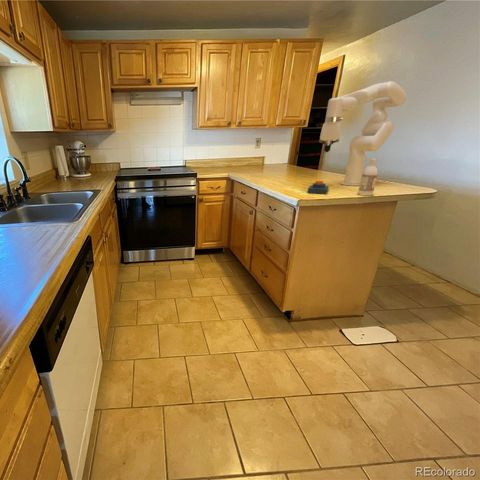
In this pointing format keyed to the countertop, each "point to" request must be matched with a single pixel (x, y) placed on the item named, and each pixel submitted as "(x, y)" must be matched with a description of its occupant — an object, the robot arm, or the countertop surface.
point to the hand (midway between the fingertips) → (326, 152)
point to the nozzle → (319, 182)
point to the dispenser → (318, 188)
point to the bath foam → (368, 179)
